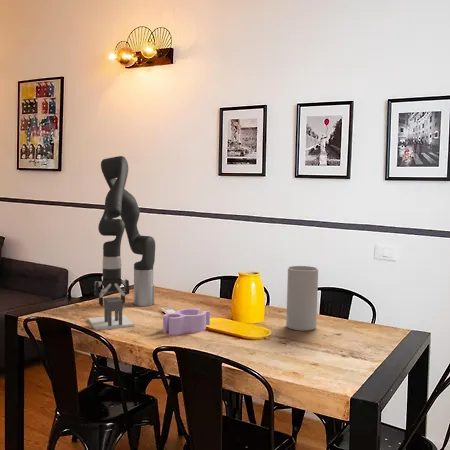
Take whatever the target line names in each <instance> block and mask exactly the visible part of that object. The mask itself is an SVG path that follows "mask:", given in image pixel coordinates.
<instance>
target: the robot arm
mask: <svg viewBox="0 0 450 450" xmlns="http://www.w3.org/2000/svg"><path fill="white" fill-rule="evenodd" d="M100 169H101V173H102V175H103V177H104V179H105V181H106V183H107V185H108V187H109V191H108V192H107V194H106V196H105V198H104V199H105V201H104V209H103V214H102V217H101V218H100V220H99V223H98V227H97V228H98V232H99V234H100V235H101V236H105V237H106V236H107V237H111V236H112V237H115V239H112V240H108V241H105V242H104V243H103V245H102V253H103V254H102V280H101V281H97V280H95V281H94V289H93V295H94V296H95V297H96V298H98V305H99V306H100V307H104V297H103V296H104V295H105V294H106V293H107V292H117V291H118V292H119V293H120V299H121V300H122V301H123V305H124V304H125V303H126V295H129V294H130V281H129V279H127V278H126V279H122V259H121V244H122V239H123V235H124V233H125V232H126V236H127V241H128V243H129V247H130V250H131V252H132V253H133V254H135V255H140V256H141V260H139V261H136V262H135V263H134V264H133V305H135V306H137V307H147V306H152V305H155V284H154V265H155V257H156V241H155V238H154V237H153V236H150V235H141V233H140V232H139V229H138V222H139V218H140V215H141V213H140V212H141V211H140V208H139V205H138V202H137V200H136V198H135V196H134V195H133V194H131V193H130V192H129V191H128V190H127V189H125V187H126V184H127V179H128V175H129V164H128V160H127V159H126V157H125V156H123V155H119V156H118V155H117V156H112V157H107V158H104V159H102V160H101V162H100ZM121 285H124V290H123V289H122V288H121ZM101 286H102V289H101V290H100V292H99V287H101Z"/></svg>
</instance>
